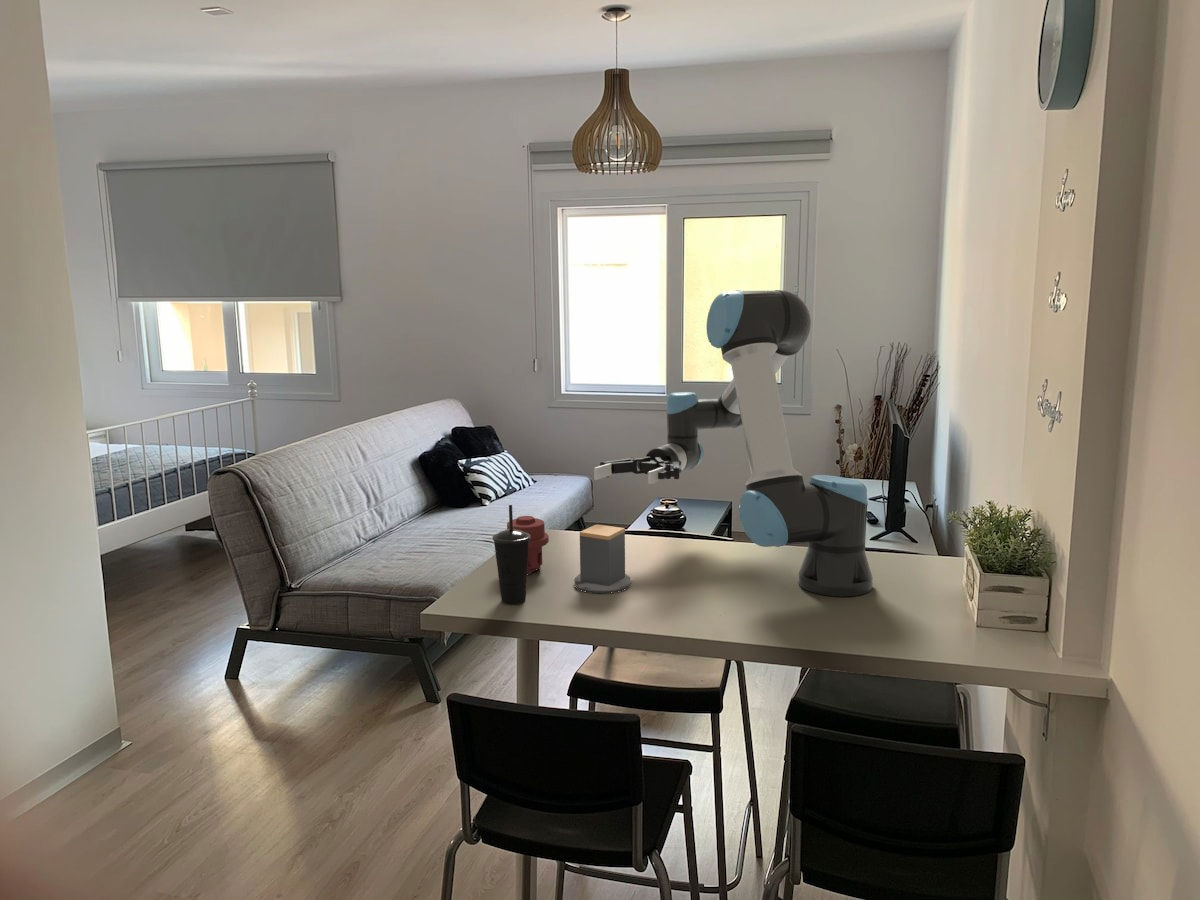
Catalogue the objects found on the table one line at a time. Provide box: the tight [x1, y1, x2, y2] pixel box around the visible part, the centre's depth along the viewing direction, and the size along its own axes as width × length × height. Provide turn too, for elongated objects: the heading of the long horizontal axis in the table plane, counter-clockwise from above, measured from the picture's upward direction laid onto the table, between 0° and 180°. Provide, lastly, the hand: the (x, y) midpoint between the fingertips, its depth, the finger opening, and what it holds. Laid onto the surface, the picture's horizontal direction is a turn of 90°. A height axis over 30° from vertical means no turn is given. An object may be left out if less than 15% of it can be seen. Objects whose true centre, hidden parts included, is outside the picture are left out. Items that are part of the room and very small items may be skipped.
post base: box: [574, 573, 632, 594], centre depth 193 cm, size 12×12×7 cm
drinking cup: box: [491, 504, 531, 606], centre depth 182 cm, size 8×8×20 cm
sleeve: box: [579, 523, 626, 586], centre depth 192 cm, size 7×7×11 cm
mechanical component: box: [506, 515, 549, 575], centre depth 202 cm, size 12×10×10 cm
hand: (621, 476), depth 199 cm, fingers open, 13 cm apart
